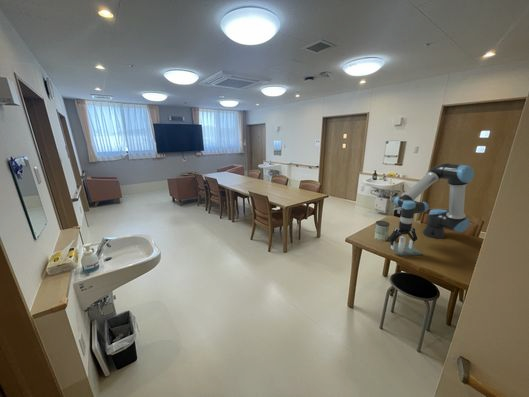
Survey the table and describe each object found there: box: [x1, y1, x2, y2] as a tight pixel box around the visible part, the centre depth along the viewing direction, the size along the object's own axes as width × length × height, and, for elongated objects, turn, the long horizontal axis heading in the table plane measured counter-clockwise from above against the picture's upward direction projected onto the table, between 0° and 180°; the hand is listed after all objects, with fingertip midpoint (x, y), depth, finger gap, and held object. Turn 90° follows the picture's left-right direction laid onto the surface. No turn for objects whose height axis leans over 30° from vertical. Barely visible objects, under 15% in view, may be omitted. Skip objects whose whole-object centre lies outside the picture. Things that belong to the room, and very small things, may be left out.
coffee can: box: [373, 220, 391, 242], centre depth 181 cm, size 10×10×14 cm
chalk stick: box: [397, 235, 407, 253], centre depth 157 cm, size 4×4×12 cm
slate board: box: [388, 243, 423, 257], centre depth 163 cm, size 17×14×1 cm
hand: (401, 248), depth 158 cm, fingers open, 13 cm apart
